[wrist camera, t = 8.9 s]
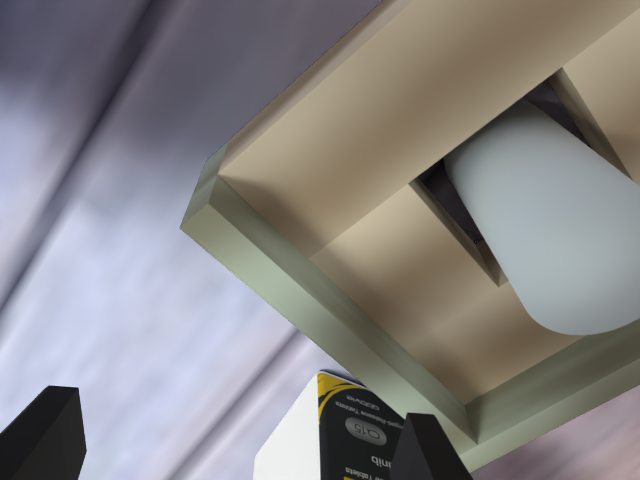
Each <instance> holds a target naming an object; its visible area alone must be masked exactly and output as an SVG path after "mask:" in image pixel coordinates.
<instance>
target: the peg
mask: <svg viewBox="0 0 640 480" xmlns="http://www.w3.org/2000/svg"><path fill="white" fill-rule="evenodd" d="M444 166H445V171H446V173H447V176H448V178H449V179H450V181H451V183H452V184H453V186H454V188H455V190H456V191H457V193H458V195H459V196H460V198H461V200H462V202H463V203H464V205H465V207H466V208H467V210H468V212H469V214H470V215H471V217H472V219H473V220H474V222H475V224H476V225H477V227H478V229H479V231H480V232H481V234H482V236H483V237H484V239H485V241H486V243H487V244H488V246H489V248H490V249H491V251H492V253H493V255H494V256H495V258H496V260H497V261H498V263H499V265H500V266H501V268H502V270H503V272H504V273H505V275H506V277H507V278H508V280H509V282H510V284H511V285H512V287H513V289H514V290H515V292H516V294H517V295H518V297H519V299H520V301H521V302H522V304H523V306H524V307H525V309H526V311H527V313H528V314H529V315H530V316H531V317H532V318H533V319H534V320H535V321H536V322H537V323H539V324H540V325H542V326H544V327H545V328H547V329H550V330H552V331H555V332H558V333H562V334H568V335H593V334H599V333H604V332H608V331H612V330H615V329H617V328H620V327H623V326H625V325H627V324H629V323H632V322H633V321H635V320H637V319H639V318H640V186H639V185H638V184H636V183H635V182H634V181H632V180H631V179H630V178H629V177H627V176H626V175H625V174H623V173H622V172H621V171H619V170H618V169H617V168H616V167H614V166H613V165H612V164H610V163H609V162H608V161H606V160H605V159H604V158H603V157H601V156H600V155H599V154H597V153H596V152H595V151H594V150H592V149H591V148H590V147H588V146H587V145H586V144H584V143H583V142H582V141H581V140H579V139H578V138H577V137H575V136H574V135H573V134H571V133H570V132H569V131H568V130H566V129H565V128H564V127H562V126H561V125H560V124H558V123H557V122H556V121H555V120H553V119H552V118H551V117H549V116H548V115H547V114H546V113H544V112H543V111H542V110H540V109H539V108H538V107H536V106H535V105H534V104H532V103H530V102H528V101H526V100H523V99H519V100H518V101H516V102H515V103H514V104H512V105H511V106H510V107H508V108H507V109H506V110H504V111H503V112H502V113H500V114H499V115H498V116H496V117H495V118H494V119H493V120H491V121H490V122H489V123H487V124H486V125H485V126H483V127H482V128H481V129H479V130H478V131H477V132H475V133H474V134H473V135H471V136H470V137H469V138H467V139H466V140H465V141H463V142H462V143H461V144H460V145H458V146H457V147H456V148H454V149H453V150H452V151H450V152H449V153H448V154H446V155H445V156H444Z"/></svg>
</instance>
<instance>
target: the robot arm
mask: <svg viewBox="0 0 640 480" xmlns="http://www.w3.org/2000/svg"><path fill="white" fill-rule="evenodd" d="M86 452H87V450H86V442H85V434H84V427H83V419H82V411H81V404H80V396H79V389H78V388H76V387H63V386H48V387H46V388H45V389H44V390H43V391H42V392H41V393H40V394H39V395H38V396H37V397H36V398H35V399H34V400H33V401H32V402H31V403H30V404H29V405H28V406H27V407H26V408H25V409H24V410H23V411H22V412H21V413H20V414H19V415H18V416H17V417H16V418H15V419H14V420H13V421H12V422H11V423H10V424H9V425H8V426H7V427H6V428H5V429H4V430H3V431H2V432H1V433H0V480H78V478H79V474H80V471H81V468H82V465H83V461H84V458H85V455H86ZM389 472H390V480H473V478H472V477H471V475H470V473H469V472H468V470H467V469H466V467H465V465H464V464H463V462H462V460H461V459H460V457H459V455H458V454H457V452H456V450H455V449H454V447H453V445H452V444H451V442H450V440H449V438H448V437H447V435H446V433H445V431H444V430H443V428H442V426H441V424H440V423H439V421H438V419H437V418H436V417H435V415H434V414H423V413H410V412H407V415H406V418H405V421H404V425H403V428H402V431H401V435H400V438H399V441H398V444H397V448H396V451H395V454H394V457H393V461H392V464H391V467H390V471H389Z"/></svg>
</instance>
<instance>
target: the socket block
mask: <svg viewBox="0 0 640 480" xmlns="http://www.w3.org/2000/svg"><path fill="white" fill-rule="evenodd" d="M545 79H547V80H548V82H549V83H550V85H551V86H552V88H553V89H554V91H555V93H556V94H557V96H558V97H559V99H560V100H561V102H562V103H563V105H564V107H565V108H566V110H567V111H568V113H569V114H570V116H571V117H572V119H573V120H574V122H575V124H576V125H577V127H578V128H579V130H580V131H581V133H582V134H583V136H584V137H585V139H586V141H587V142H588V144H589V145H590V147H591V148H592V150H594V151H595V152H596V153H597V154H599V155H600V156H601V157H603V158H604V159H605V160H606V161H608V162H609V163H610V164H612V165H613V166H614V167H616V168H617V169H618V170H619V171H621V172H622V173H623V174H625V175H626V176H627V177H629V178H630V179H631V180H632V181H634V182H635V183H636V184H638V185H639V186H640V0H383V1H382V2H381V3H380V4H378V5H377V6H376V7H375V8H374V9H373V10H372V11H371V12H370V13H369V14H367V15H366V16H365V17H364V18H363V19H362V20H361V21H360V22H359V23H358V24H356V25H355V26H354V27H353V28H352V29H351V30H350V31H349V32H348V33H347V34H345V35H344V36H343V37H342V38H341V39H340V40H339V41H338V42H337V43H336V44H334V45H333V46H332V47H331V48H330V49H329V50H328V51H327V52H326V53H325V54H323V55H322V56H321V57H320V58H319V59H318V60H317V61H316V62H315V63H314V64H312V65H311V66H310V67H309V68H308V69H307V70H306V71H305V72H304V73H303V74H301V75H300V76H299V77H298V78H297V79H296V80H295V81H294V82H293V83H292V84H290V85H289V86H288V87H287V88H286V89H285V90H284V91H283V92H282V93H281V94H279V95H278V96H277V97H276V98H275V99H274V100H273V101H272V102H271V103H270V104H268V105H267V106H266V107H265V108H264V109H263V110H262V111H261V112H260V113H259V114H257V115H256V116H255V117H254V118H253V119H252V120H251V121H250V122H249V123H248V124H246V125H245V126H244V127H243V128H242V129H241V130H240V131H239V132H238V133H237V134H235V135H234V136H233V137H232V138H231V139H230V140H229V141H228V142H227V143H226V144H224V145H223V146H222V147H221V148H220V149H219V150H218V151H217V152H216V153H215V154H213V155H212V156H211V157H210V158H209V159H208V160H207V161H206V163H205V165H204V168H203V170H202V173H201V175H200V178H199V180H198V183H197V185H196V188H195V190H194V193H193V195H192V198H191V200H190V203H189V205H188V208H187V210H186V213H185V215H184V218H183V220H182V223H181V225H180V229H181V230H182V231H183V232H185V233H186V234H187V235H188V236H189V237H190V238H192V239H193V240H194V241H195V242H196V243H198V244H199V245H200V246H201V247H202V248H203V249H205V250H206V251H207V252H208V253H209V254H210V255H212V256H213V257H214V258H215V259H216V260H218V261H219V262H220V263H221V264H222V265H223V266H225V267H226V268H227V269H228V270H229V271H231V272H232V273H233V274H234V275H235V276H236V277H238V278H239V279H240V280H241V281H242V282H243V283H245V284H246V285H247V286H248V287H249V288H251V289H252V290H253V291H254V292H255V293H256V294H258V295H259V296H260V297H261V298H262V299H264V300H265V301H266V302H267V303H268V304H269V305H271V306H272V307H273V308H274V309H275V310H276V311H278V312H279V313H280V314H281V315H282V316H284V317H285V318H286V319H287V320H288V321H289V322H291V323H292V324H293V325H294V326H295V327H297V328H298V329H299V330H300V331H301V332H302V333H304V334H305V335H306V336H307V337H308V338H310V339H311V340H312V341H313V342H314V343H315V344H317V345H318V346H319V347H320V348H321V349H322V350H324V351H325V352H326V353H327V354H328V355H330V356H331V357H332V358H333V359H334V360H335V361H337V362H338V363H339V364H340V365H341V366H343V367H344V368H345V369H346V370H347V371H348V372H350V373H351V374H352V375H353V376H354V377H355V378H357V379H358V380H359V381H360V382H361V383H363V384H364V385H365V386H366V387H367V388H368V389H370V390H371V391H372V392H373V393H374V394H376V395H377V396H378V397H379V398H380V399H381V400H383V401H384V402H385V403H386V404H387V405H388V406H390V407H391V408H392V409H393V410H394V411H396V412H397V413H398V414H399V415H400V416H401V417H403V418H404V419H405V418H406V415H407V412H410V413H423V414H434V415H435V417H436V418H437V419H438V421H439V423H440V424H441V426H442V428H443V430H444V431H445V433H446V435H447V437H448V438H449V440H450V442H451V444H452V445H453V447H454V449H455V450H456V452H457V454H458V455H459V457H460V459H461V460H462V462H463V464H464V465H465V467H466V469H467V470H468V472H469V473H471V472H473V471H475V470H477V469H478V468H480V467H482V466H484V465H486V464H488V463H490V462H492V461H494V460H496V459H498V458H500V457H501V456H503V455H505V454H507V453H509V452H511V451H513V450H515V449H517V448H519V447H521V446H523V445H524V444H526V443H528V442H530V441H532V440H534V439H536V438H538V437H540V436H542V435H544V434H546V433H547V432H549V431H551V430H553V429H555V428H557V427H559V426H561V425H563V424H565V423H567V422H569V421H570V420H572V419H574V418H576V417H578V416H580V415H582V414H584V413H586V412H588V411H590V410H592V409H594V408H595V407H597V406H599V405H601V404H603V403H605V402H607V401H609V400H611V399H613V398H615V397H617V396H618V395H620V394H622V393H624V392H626V391H628V390H630V389H632V388H634V387H636V386H638V385H640V318H639V319H637V320H635V321H633V322H632V323H629V324H627V325H625V326H623V327H620V328H617V329H615V330H612V331H608V332H604V333H599V334H593V335H568V334H562V333H558V332H555V331H552V330H550V329H547V328H545V327H544V326H542V325H540V324H539V323H537V322H536V321H535V320H534V319H533V318H532V317H531V316H530V315H529V314H528V313H527V311H526V309H525V307H524V306H523V304H522V302H521V301H520V299H519V297H518V295H517V294H516V292H515V290H514V289H513V287H512V285H511V284H510V282H509V280H508V278H507V277H506V275H505V273H504V272H503V270H502V268H501V266H500V265H499V263H498V261H497V260H496V258H495V256H494V255H493V253H492V251H491V249H490V248H489V246H488V244H487V243H486V241H485V239H483V240H481V241H480V242H478V243H477V244H475V243H474V242H473V241H472V240H471V239H470V238H469V236H468V235H467V234H466V233H465V232H464V231H463V229H462V228H461V227H460V226H459V225H458V224H457V222H456V221H455V220H454V219H453V218H452V216H451V215H450V214H449V213H448V212H447V211H446V209H445V208H444V207H443V206H442V205H441V204H440V202H439V201H438V200H437V199H436V198H435V197H434V195H433V194H432V193H431V192H430V191H429V190H428V188H427V187H426V186H425V185H424V184H423V183H422V181H421V180H420V179H419V178H418V177H417V176H419V175H420V174H421V173H423V172H424V171H425V170H427V169H428V168H429V167H430V166H432V165H433V164H434V163H436V162H437V161H438V160H440V159H441V158H442V157H444V156H445V155H446V154H448V153H449V152H450V151H452V150H453V149H454V148H456V147H457V146H458V145H460V144H461V143H462V142H463V141H465V140H466V139H467V138H469V137H470V136H471V135H473V134H474V133H475V132H477V131H478V130H479V129H481V128H482V127H483V126H485V125H486V124H487V123H489V122H490V121H491V120H493V119H494V118H495V117H496V116H498V115H499V114H500V113H502V112H503V111H504V110H506V109H507V108H508V107H510V106H511V105H512V104H514V103H515V102H516V101H518V100H519V99H520V98H522V97H523V96H524V95H525V94H527V93H528V92H529V91H531V90H532V89H533V88H535V87H536V86H537V85H539V84H540V83H541V82H543V81H544V80H545Z"/></svg>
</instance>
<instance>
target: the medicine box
mask: <svg viewBox="0 0 640 480" xmlns="http://www.w3.org/2000/svg"><path fill="white" fill-rule="evenodd" d="M404 421H405V419H404V418H403V417H401V416H400V415H399V414H398V413H397V412H396V411H394V410H393V409H392V408H391V407H390V406H388V405H387V404H386V403H385V402H384V401H383V400H381V399H380V398H379V397H378V396H377V395H376V394H374V393H373V392H372V391H371V390H370V389H368V388H366V387H364V386H361V385H358V384H356V383H353V382H351V381H348V380H345V379H343V378H340V377H338V376H335V375H332V374H330V373H327V372H324V371H319V372H317V373H315V375H314V376H313V377H312V379H311V380H310V381H309V383H308V384H307V386H306V387H305V388H304V390H303V391H302V392H301V394H300V395H299V397H298V398H297V399H296V401H295V402H294V403H293V405H292V406H291V408H290V409H289V410H288V412H287V413H286V414H285V416H284V417H283V419H282V420H281V421H280V423H279V424H278V425H277V427H276V428H275V430H274V431H273V432H272V434H271V435H270V436H269V438H268V439H267V441H266V442H265V443H264V445H263V446H262V447H261V449H260V450H259V452H258V453H257V454H256V457H255V463H254V474H253V480H390V472H389V471H390V467H391V464H392V461H393V457H394V454H395V451H396V448H397V444H398V441H399V438H400V435H401V431H402V428H403V425H404Z"/></svg>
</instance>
